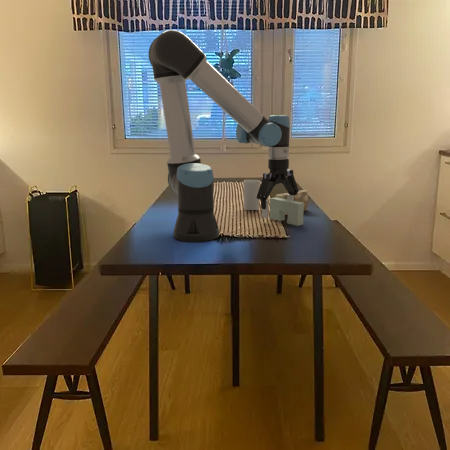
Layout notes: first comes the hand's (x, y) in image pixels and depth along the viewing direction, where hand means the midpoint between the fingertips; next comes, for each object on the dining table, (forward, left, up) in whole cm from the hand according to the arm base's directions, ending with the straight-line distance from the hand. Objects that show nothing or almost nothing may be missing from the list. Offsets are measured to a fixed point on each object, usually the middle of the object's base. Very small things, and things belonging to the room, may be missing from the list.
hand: (277, 214), depth 176 cm
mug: (+6, +21, -2) cm, 21 cm away
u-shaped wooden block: (+13, +5, -2) cm, 14 cm away
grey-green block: (0, -4, -2) cm, 5 cm away
